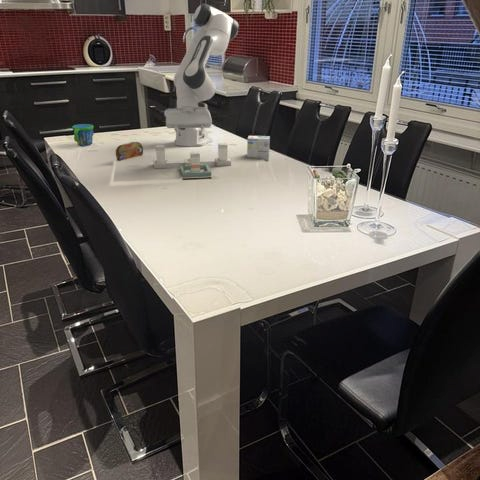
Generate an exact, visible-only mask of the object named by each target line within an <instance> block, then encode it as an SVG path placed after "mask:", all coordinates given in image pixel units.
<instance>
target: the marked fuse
mask: <svg viewBox="0 0 480 480" xmlns="http://www.w3.org/2000/svg"><path fill="white" fill-rule="evenodd" d="M189 157H190V158H189V159H191V169H190V172H201V169H200V162H201V154H200V151H190V155H189Z"/></svg>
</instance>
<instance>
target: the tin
mask: <svg viewBox="0 0 480 480" xmlns="http://www.w3.org/2000/svg"><path fill="white" fill-rule="evenodd" d="M143 154H144V147H143V145H142V143H140V142H138V141H130V142H127V143H123V144H120V145H118V146H117V147H116V149H115V157H116V159H117V160H118V161H124V160H125V161H126V160H127V159H132V158H137V157H142V156H143Z"/></svg>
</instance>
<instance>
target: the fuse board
mask: <svg viewBox="0 0 480 480" xmlns="http://www.w3.org/2000/svg"><path fill="white" fill-rule="evenodd" d="M184 165H191V158H184V162H169V159H165V163H157V159H153V168H154V170H168V169H169V170H171V169H172V170H173V169H180V166H184ZM200 165H208V167H209V168H217V167H218V168H219V167H232V160H231V159H230V157H229V156H227V160H225V161H219V160H218V157H214V160H213V161H200Z"/></svg>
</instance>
